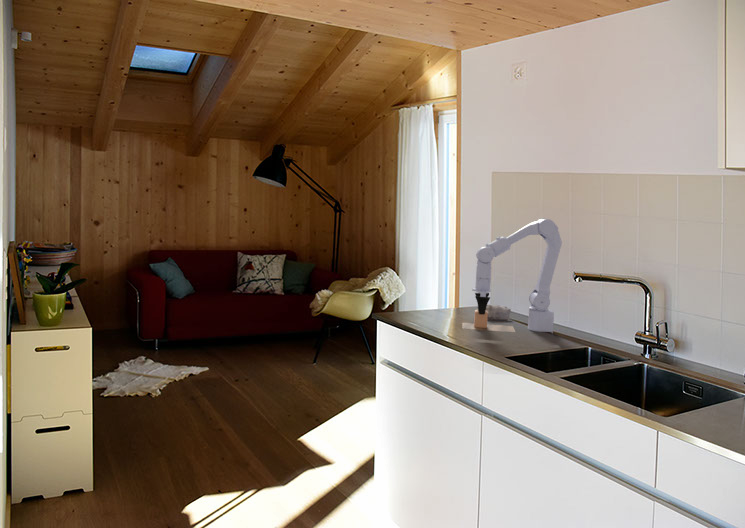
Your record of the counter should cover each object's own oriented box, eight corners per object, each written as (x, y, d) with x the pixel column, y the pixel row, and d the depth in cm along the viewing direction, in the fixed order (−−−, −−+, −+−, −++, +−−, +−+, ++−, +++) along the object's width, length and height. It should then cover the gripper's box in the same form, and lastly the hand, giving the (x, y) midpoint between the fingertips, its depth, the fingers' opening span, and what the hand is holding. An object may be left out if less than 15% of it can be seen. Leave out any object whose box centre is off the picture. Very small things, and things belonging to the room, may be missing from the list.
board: (513, 328, 255) (513, 317, 254) (515, 335, 243) (516, 323, 243) (462, 325, 258) (462, 314, 257) (462, 331, 246) (462, 319, 245)
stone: (512, 322, 268) (513, 306, 267) (485, 322, 265) (486, 306, 264) (503, 319, 276) (504, 303, 275) (477, 319, 273) (478, 303, 272)
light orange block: (486, 325, 254) (487, 310, 253) (486, 327, 249) (487, 312, 248) (474, 324, 254) (474, 309, 254) (474, 327, 250) (475, 311, 249)
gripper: (472, 275, 257) (470, 308, 259) (473, 279, 243) (471, 315, 244) (490, 276, 256) (488, 309, 258) (492, 280, 242) (490, 316, 243)
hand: (481, 312), depth 251 cm, fingers open, 7 cm apart
